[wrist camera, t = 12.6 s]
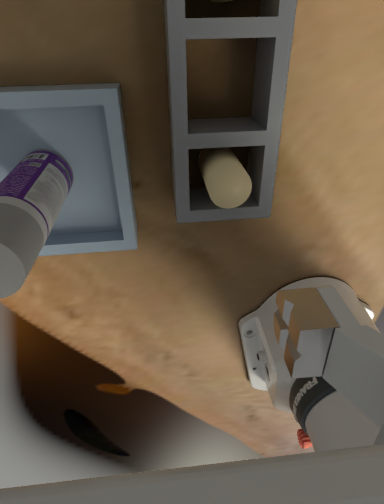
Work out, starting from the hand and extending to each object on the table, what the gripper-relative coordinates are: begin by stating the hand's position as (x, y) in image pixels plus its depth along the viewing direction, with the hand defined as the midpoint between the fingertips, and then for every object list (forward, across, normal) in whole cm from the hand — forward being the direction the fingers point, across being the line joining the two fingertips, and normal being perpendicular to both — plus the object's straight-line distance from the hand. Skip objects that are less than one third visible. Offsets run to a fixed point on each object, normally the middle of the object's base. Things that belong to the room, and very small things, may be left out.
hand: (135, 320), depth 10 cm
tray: (+26, +10, +4) cm, 28 cm away
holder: (+26, -6, -3) cm, 27 cm away
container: (+25, +10, +4) cm, 27 cm away
